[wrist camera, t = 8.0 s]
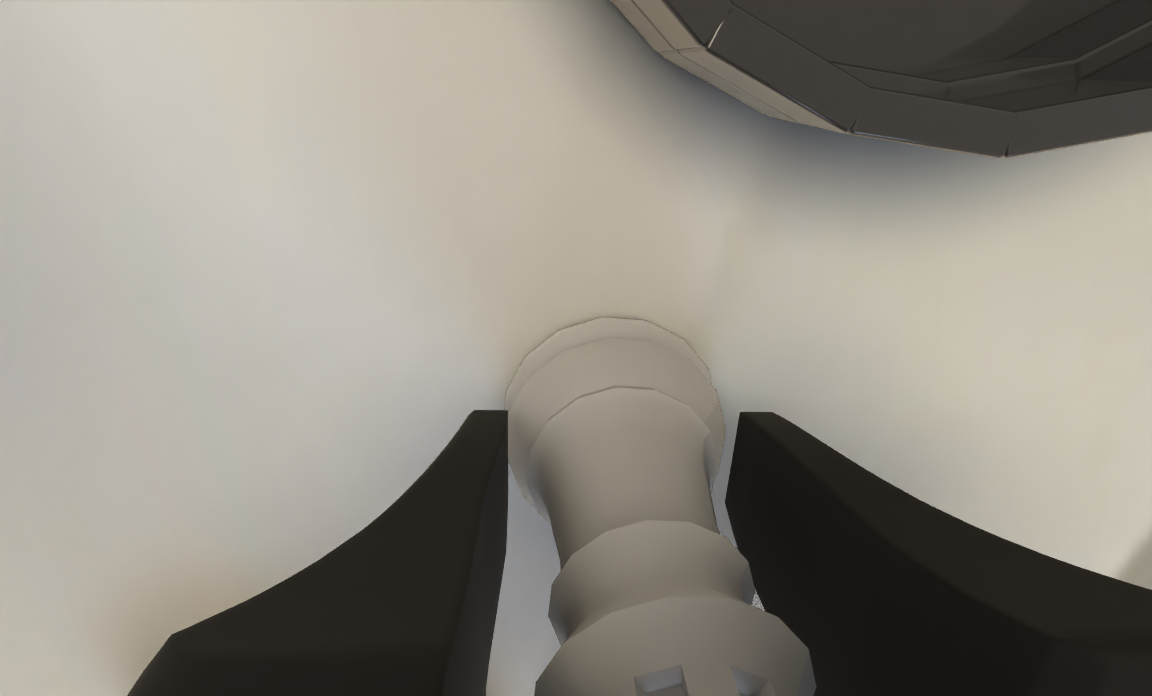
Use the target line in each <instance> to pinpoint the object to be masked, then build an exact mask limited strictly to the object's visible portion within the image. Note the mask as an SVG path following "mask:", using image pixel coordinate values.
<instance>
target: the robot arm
mask: <svg viewBox="0 0 1152 696" xmlns="http://www.w3.org/2000/svg"><path fill="white" fill-rule="evenodd" d="M725 504H726V508H727V512H728V515H729V519H730V523H731V527H732V530H733V534H734V537H735V540H736V544H737V547H738V550H739V552H740V553H741V554H742V555H743V556H744V557H745V559H746V560H747V561H748V563H749V567H750V572H751V576H752V580H753V584H754V587H755V589H756V591H757V594H758V596H759V598H760V600H761V603H762V605H763V607H764V609H765V611H766V612H768V613H770V614H772V615H775V616H777V617H779V618H780V619H781V620H782V621H783V622H784V624H785V625H786V626H787V627H788V628H789V629H790V630H791V631H792V632H793V633H794V634H795V635H796V636H797V637H798V638H799V639H800V640H801V641H802V642H803V644H804V645H805V646H806V647H807V648H808V649H809V653H810V658H811V663H812V668H813V673H814V678H815V683H816V689H815V692H814V695H813V696H1152V590H1150V589H1146V588H1143V587H1140V586H1136V585H1133V584H1130V583H1127V582H1123V581H1120V580H1117V579H1114V578H1111V577H1108V576H1105V575H1102V574H1099V573H1095V572H1092V571H1089V570H1086V569H1083V568H1080V567H1077V566H1074V565H1072V564H1069V563H1066V562H1063V561H1060V560H1057V559H1055V558H1052V557H1049V556H1046V555H1043V554H1041V553H1038V552H1036V551H1033V550H1031V549H1028V548H1026V547H1023V546H1021V545H1018V544H1016V543H1013V542H1010V541H1008V540H1005V539H1003V538H1000V537H998V536H996V535H993V534H991V533H989V532H986V531H984V530H982V529H979V528H977V527H975V526H972V525H970V524H968V523H966V522H964V521H962V520H960V519H958V518H956V517H953V516H951V515H949V514H947V513H945V512H943V511H941V510H939V509H937V508H934V507H932V506H930V505H929V504H927V503H925V502H923V501H921V500H919V499H917V498H915V497H913V496H911V495H909V494H908V493H906V492H904V491H902V490H901V489H899V488H897V487H895V486H893V485H892V484H890V483H888V482H886V481H885V480H883V479H881V478H879V477H878V476H876V475H874V474H873V473H871V472H869V471H867V470H866V469H864V468H862V467H861V466H859V465H858V464H856V463H854V462H853V461H851V460H850V459H848V458H846V457H845V456H843V455H842V454H840V453H838V452H837V451H835V450H834V449H832V448H831V447H829V446H827V445H826V444H824V443H823V442H821V441H820V440H818V439H816V438H815V437H813V436H812V435H810V434H809V433H807V432H806V431H804V430H802V429H801V428H799V427H798V426H796V425H794V424H793V423H791V422H789V421H788V420H786V419H784V418H782V417H781V416H779V415H777V414H775V413H773V412H740V415H739V421H738V427H737V433H736V439H735V445H734V451H733V457H732V463H731V469H730V475H729V481H728V487H727V493H726V499H725ZM507 515H508V410H474V411H473V412H472V413H471V414H470V415H468V417H467V418H466V420H465V421H464V423H463V424H462V426H461V427H460V429H459V430H458V432H457V433H456V434H455V436H454V437H453V438H452V440H451V441H450V442H449V444H448V445H447V446H446V447H445V449H444V450H443V451H442V452H441V453H440V455H439V456H438V457H437V458H436V459H435V461H434V462H433V463H432V464H431V465H430V466H429V468H428V469H427V470H426V471H425V472H424V473H423V474H422V475H421V476H420V477H419V478H418V479H417V480H416V481H415V482H414V484H413V485H412V486H411V487H410V488H409V489H408V490H407V491H406V492H405V493H404V494H403V495H402V496H401V497H400V498H399V499H398V500H397V501H396V502H394V503H393V504H392V505H391V506H390V507H389V508H388V509H387V510H386V511H385V512H383V513H382V514H381V515H380V516H379V517H378V518H376V519H375V520H374V521H373V522H372V523H370V524H369V525H368V526H367V527H366V528H364V529H363V530H362V531H360V532H359V533H357V534H356V535H355V536H353V537H352V538H350V539H349V540H347V541H346V542H344V543H343V544H342V545H340V546H339V547H337V548H336V549H334V550H333V551H331V552H330V553H328V554H327V555H326V556H324V557H323V558H321V559H320V560H318V561H317V562H315V563H313V564H312V565H310V566H308V567H307V568H305V569H303V570H302V571H300V572H298V573H297V574H295V575H293V576H292V577H290V578H288V579H286V580H284V581H283V582H281V583H279V584H277V585H275V586H273V587H272V588H270V589H268V590H266V591H264V592H262V593H260V594H258V595H257V596H255V597H253V598H251V599H249V600H247V601H245V602H243V603H240V604H238V605H236V606H234V607H232V608H230V609H227V610H225V611H223V612H221V613H219V614H217V615H214V616H212V617H210V618H208V619H206V620H204V621H201V622H199V623H197V624H195V625H193V626H191V627H188V628H186V629H184V630H181V631H179V632H177V633H174V634H172V635H171V636H170V637H169V639H168V640H167V641H166V643H165V644H164V646H163V647H162V648H161V649H160V651H159V652H158V653H157V655H156V656H155V657H154V658H153V660H152V661H151V662H150V664H149V665H148V666H147V667H146V669H145V670H144V671H143V673H142V674H141V676H140V677H139V679H138V680H137V682H136V683H135V685H134V686H133V688H132V689H131V691H130V692H129V694H128V695H127V696H485V695H486V683H487V674H488V665H489V658H490V652H491V645H492V639H493V632H494V626H495V620H496V613H497V607H498V600H499V594H500V588H501V581H502V575H503V568H504V561H505V555H506V540H507Z"/></svg>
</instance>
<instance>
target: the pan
mask: <svg viewBox="0 0 1152 696" xmlns="http://www.w3.org/2000/svg"><path fill="white" fill-rule="evenodd" d="M611 1H612V2H613V4H614V5H615V6H616V7H617V8H618V9H619V10H620V12H621V13H622V14H623V15H624V16H625V17H626V18H627V20H628V21H629V22H630V23H631V24H632V25H633V27H634V28H635V29H636V30H637V31H638V32H639V33H640V35H641V36H642V37H643V38H644V39H645V40H646V41H647V43H648V44H649V45H650V46H651V47H652V48H653V50H654V51H657V52H659V54H660V55H661V56H662V57H664V58H666V59H667V60H669V61H671V62H673V63H674V64H676V65H678V66H680V67H681V68H683V69H685V70H687V71H688V72H690V73H692V74H694V75H695V76H697V77H699V78H701V79H702V80H704V81H706V82H708V83H709V84H711V85H713V86H715V87H716V88H718V89H720V90H722V91H724V92H725V93H727V94H729V95H731V96H732V97H734V98H736V99H738V100H739V101H741V102H743V103H745V104H746V105H748V106H750V107H752V108H753V109H755V110H757V111H759V112H760V113H762V114H764V115H768V116H771V117H773V118H777V119H782V120H786V121H791V122H795V123H800V124H804V125H809V126H813V127H818V128H822V129H827V130H832V131H836V132H841V133H845V134H850V135H855V136H861V137H868V138H874V139H880V140H886V141H893V142H899V143H905V144H912V145H918V146H924V147H931V148H937V149H943V150H950V151H956V152H962V153H968V154H975V155H981V156H987V157H994V158H1000V157H1006V158H1010V157H1016V156H1021V155H1027V154H1032V153H1038V152H1043V151H1049V150H1054V149H1060V148H1065V147H1071V146H1076V145H1082V144H1088V143H1093V142H1099V141H1104V140H1110V139H1115V138H1121V137H1126V136H1132V135H1137V134H1143V133H1148V132H1152V0H611Z"/></svg>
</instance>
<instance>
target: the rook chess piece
mask: <svg viewBox="0 0 1152 696" xmlns="http://www.w3.org/2000/svg"><path fill="white" fill-rule="evenodd" d="M504 410H508V461H509V464H510V466H511V469H512V471H513V473H514V476H515V478H516V481H517V483H518V486H519V488H520V490H521V492H522V494H523V496H524V497H525V498H526V499H527V500H528V501H529V502H530V503H531V504H532V505H533V506H534V507H535V508H537V511H538V513H539V514H540V515H541V516H542V517H543V518H544V519H546V520H547V521H548V522H549V523H550V524H551V526H552V530H553V534H554V538H555V542H556V546H557V550H558V554H559V558H560V565H561V572H560V573H559V575H558V576H557V578H556V579H555V581H554V582H553V584H552V588H551V596H550V605H549V614H548V617H549V619H550V621H551V623H552V626H553V628H554V630H555V633H556V635H557V637H558V640H559V642H560V644H561V645H562V646H561V647H560V649H559V650H558V652H557V653H556V654H555V656H554V657H553V659H552V660H551V662H550V663H549V664H548V666H547V667H546V669H545V670H544V671H543V673H542V674H541V676H540V677H539V679H538V680H537V681H536V687H535V696H813V695H814V692H815V689H816V683H815V678H814V673H813V668H812V663H811V658H810V653H809V649H808V648H807V647H806V646H805V645H804V644H803V642H802V641H801V640H800V639H799V638H798V637H797V636H796V635H795V634H794V633H793V632H792V631H791V630H790V629H789V628H788V627H787V626H786V625H785V624H784V622H783V621H782V620H781V619H780V618H779V617H777V616H775V615H772V614H770V613H768V612H765V611H763V610H761V609H759V608H756V607H754V606H752V605H751V604H752V601H753V597H754V594H755V588H754V584H753V580H752V576H751V572H750V567H749V563H748V561H747V560H746V559H745V557H744V556H743V555H742V554H741V553H740V552H739V551H738V550H737V549H736V548H735V547H734V546H733V545H732V543H731V542H730V541H729V540H728V539H727V538H726V537H725V536H722V535H721V534H720V532H719V529H718V527H717V523H716V518H715V513H714V508H713V503H712V498H711V492H712V488H713V483H714V479H715V476H716V475H717V473H718V468H719V464H720V460H721V455H722V451H723V446H724V442H725V424H724V420H723V415H722V411H721V407H720V403H719V398H718V394H717V390H716V389H715V388H714V387H713V386H712V382H711V378H710V373H709V369H708V368H707V367H706V365H705V364H704V363H703V362H702V361H701V359H700V358H699V357H698V356H697V354H696V353H695V352H694V351H693V350H692V348H691V347H690V346H689V345H688V343H687V342H686V341H685V340H684V339H683V338H681V337H679V336H677V335H675V334H673V333H671V332H669V331H667V330H665V329H663V328H661V327H659V326H657V325H655V324H653V323H651V322H649V321H647V320H633V319H620V318H606V317H601V318H598V319H594V320H591V321H588V322H584V323H581V324H578V325H575V326H571V327H568V328H565V329H561V330H559V331H557V332H556V333H555V334H554V335H552V336H551V337H550V338H548V339H547V340H546V341H545V342H543V343H542V344H541V345H539V346H538V347H537V348H536V349H534V350H533V351H532V352H531V353H529V354H528V355H527V356H525V358H524V360H523V361H522V363H521V365H520V367H519V369H518V370H517V372H516V374H515V376H514V378H513V379H512V381H511V383H510V385H509V387H508V389H507V390H506V393H505V408H504Z"/></svg>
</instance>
